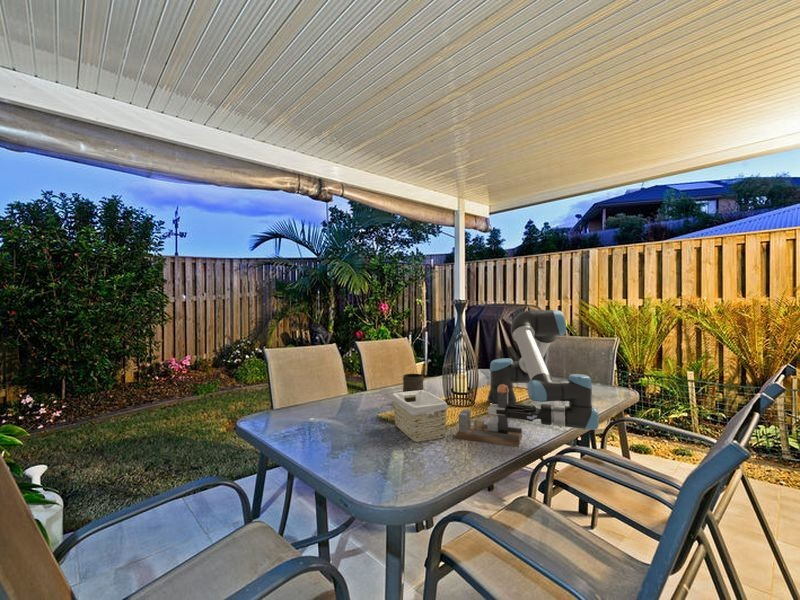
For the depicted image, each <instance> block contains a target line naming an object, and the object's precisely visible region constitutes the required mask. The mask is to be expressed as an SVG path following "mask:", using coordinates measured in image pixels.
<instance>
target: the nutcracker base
mask: <svg viewBox="0 0 800 600" xmlns="http://www.w3.org/2000/svg"><path fill="white" fill-rule="evenodd" d="M471 420H472V419H471V409H465V408H463V409H462V410H461V411H460V412H459V413H458V431H457V432H456V434H455V436H456V439H457V440H459V439H460V440H465V441H466V440H467V441H474V442H480V443H487V444H488V443H489V444H496V445H501V444H503V446H509V445H512V446H511V447H516V446H519V447H520V445H521V442H520V441H521V440H522V438H523V429H522V428H521V427H513V426H509V433H508V434H502V433H494V432H487V423H484V431H478V430H474V424H471Z"/></svg>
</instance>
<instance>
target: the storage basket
mask: <svg viewBox="0 0 800 600" xmlns="http://www.w3.org/2000/svg"><path fill="white" fill-rule="evenodd" d="M410 397H416V398H415V399H416V401H414V402H406V401H405V399H404V398H410ZM391 398H392V403H393V412H394V421H395V423H394V424H395V426H396V427H398V429H399V430H400V431H402V432H403V433H404V434H405V435H406V436H407V437H409V439H410V440H412V441H413V442H415V443H420V442H424V441H432V440H440V439H443V438H445V437H446V432H447V431H446V428H447V410H448V404H447V402H446V401H445V400H443V399H441V398H439V397H438V396H436V395H434V393H431V392H428V391H426V390H424V389H423V390H419V391H408V392H403V391H402V392H401V391H400V392H394V393H392V397H391Z"/></svg>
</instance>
